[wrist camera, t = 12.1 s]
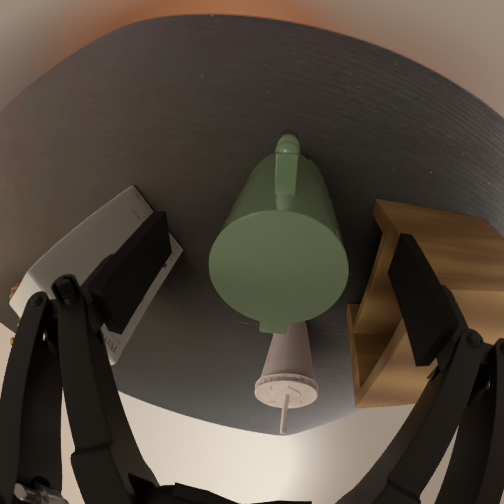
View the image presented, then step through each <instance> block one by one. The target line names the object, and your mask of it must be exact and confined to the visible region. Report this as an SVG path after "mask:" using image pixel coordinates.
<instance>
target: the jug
mask: <svg viewBox="0 0 504 504" xmlns="http://www.w3.org/2000/svg"><path fill="white" fill-rule="evenodd" d="M209 273H210V277H211V280H212V283H213V285H214V287H215V289H216V291H217V292H218V294H219V295H220V296H221V298H222V299H223V300H224V301H225V302H226V303H227V304H228V305H229V306H230V307H232V308H233V309H235V310H236V311H237V312H239V313H241V314H243V315H245V316H247V317H249V318H252V319H254V320H257V321H260V326H259V331H260V332H265V333H275V334H286V331H287V324H292V323H298V322H303V321H306V320H309V319H312V318H314V317H316V316H318V315H320V314H322V313H323V312H325V311H326V310H328V309H329V308H330V307H331V306H332V305H333V304H334V303H335V302H336V301H337V300H338V299H339V297H340V296H341V295H342V293H343V291H344V289H345V287H346V284H347V281H348V276H349V263H348V257H347V253H346V249H345V246H344V242H343V238H342V235H341V231H340V227H339V224H338V220H337V217H336V214H335V210H334V207H333V204H332V201H331V197H330V194H329V191H328V188H327V185H326V182H325V179H324V176H323V174H322V172H321V170H320V169H319V168H318V166H317V165H316V164H315V163H314V162H313V161H311V160H310V159H309V158H307V157H305V156H303V155H301V154H300V148H299V139H298V134H297V133H296V132H295V131H294V130H292V129H286V130H284V131H283V132H282V133H281V135H280V138H279V141H278V144H277V147H276V150H275V153H274V154H271V155H269V156H267V157H265V158H263V159H262V160H261V161H259V162H258V163H257V164H256V165H255V167H254V168H253V170H252V171H251V173H250V175H249V177H248V179H247V181H246V182H245V184H244V186H243V188H242V190H241V192H240V194H239V195H238V197H237V199H236V201H235V203H234V205H233V207H232V209H231V211H230V212H229V214H228V216H227V218H226V220H225V222H224V224H223V226H222V228H221V230H220V232H219V234H218V236H217V238H216V239H215V241H214V243H213V245H212V248H211V251H210V255H209Z"/></svg>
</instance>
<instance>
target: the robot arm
mask: <svg viewBox="0 0 504 504" xmlns="http://www.w3.org/2000/svg"><path fill="white" fill-rule="evenodd" d="M171 254H172V248H171V243H170V237H169V231H168V225H167V218H166V212H155V211H154V212H153V213H152V214H151V215H150V216H149V217H148V218H147V219H146V220H145V221H144V222H143V223H142V224H141V225H140V226H139V227H138V228H137V229H136V231H135V232H134V233H133V234H132V235H131V236H130V237H129V238H128V239H127V240H126V241H125V243H124V244H123V245H122V246H121V247H120V248H119V249H118V250H117V251H116V253H115V254H110V255H109V256H107V257H106V258H104V259H103V260H102V261H101V262H100V263H99V265H98V267H96V268H95V269H94V270H93V272H92V273H91V274H90V275H89V276H88V278H87V279H86V280H85V281H84V282H83V284H82V285H81V286H79V284H78V281H77V279H76V277H75V276H74V275H73V274H65V275H62V276H60V277H58V278H57V279H56V280H55V281H54V282H53V283H52V285H51V290H52V292H53V294H54V296H55V298H56V299H49V297H48V295H47V293H46V292H44V291H39V292H36V293H35V294H33V295H32V296H31V297H30V298H29V299H28V301H27V303H26V306H25V308H24V311H23V314H22V317H21V319H20V322H19V325H18V328H17V331H16V335H15V338H14V341H13V345H12V348H11V352H10V356H9V359H8V363H7V367H6V372H5V376H4V381H3V386H2V392H1V398H0V504H69V503H68V501H67V500H66V499H64V498H63V497H62V495H61V491H62V461H61V404H62V389H63V391H64V398H65V403H66V409H67V415H68V419H69V424H70V429H71V433H72V437H73V441H74V445H75V452H74V453H72V454H71V465H72V468H73V471H74V474H75V478H76V481H77V483H78V486H79V489H80V492H81V495H82V497H83V500H84V502H85V504H239V503H236V502H234V501H231V500H229V499H226V498H224V497H221V496H219V495H217V494H214V493H212V492H210V491H207V490H202V489H198V488H194V487H190V486H186V485H183V484H179V483H175V485H163V486H160V485H159V483H158V481H157V479H156V477H155V476H154V474H153V472H152V471H151V469H150V468H149V467H148V465H147V464H146V463H145V461H144V460H143V458H142V455H141V453H140V451H139V448H138V446H137V444H136V441H135V439H134V436H133V434H132V431H131V429H130V426H129V423H128V421H127V418H126V415H125V412H124V409H123V406H122V403H121V400H120V397H119V394H118V390H117V387H116V384H115V380H114V377H113V373H112V369H111V365H110V361H109V357H108V353H107V349H106V345H105V340H104V335H103V332H102V330H101V327H102V325H103V324H104V323H105V325H106V327H107V329H108V331H110V332H113V333H117V334H120V335H122V333H123V332H124V330H125V328H126V326H127V325H128V323H129V321H130V319H131V318H132V316H133V314H134V313H135V311H136V309H137V308H138V306H139V304H140V303H141V301H142V299H143V298H144V296H145V294H146V293H147V291H148V290H149V288H150V286H151V285H152V283H153V281H154V280H155V278H156V277H157V275H158V274H159V272H160V270H161V269H162V267H163V266H164V264H165V263H166V261H167V260H168V258H169V257H170V255H171ZM387 273H388V276H389V279H390V282H391V284H392V287H393V290H394V293H395V296H396V299H397V302H398V305H399V308H400V311H401V314H402V317H403V321H404V324H405V327H406V331H407V334H408V338H409V341H410V345H411V349H412V353H413V357H414V361H415V365H416V367H421V366H430V365H431V363H432V362H433V361H434V360H435V358H436V359H437V363H438V365H437V366H436V367H435V369H434V370H433V371H432V372H431V373H430V374H429V376H428V377H427V379H429V378H430V379H429V381H428V382H427V384H426V386H425V388H424V390H423V392H422V394H421V396H420V397H419V399H418V401H417V403H416V404H415V406H414V408H413V409H412V411H411V413H410V414H409V416H408V418H407V419H406V421H405V422H404V424H403V425H402V427H401V428H400V430H399V432H398V433H397V434H396V436H395V437H394V439H393V440H392V442H391V443H390V444H389V446H388V447H387V449H386V450H385V451H384V453H383V454H382V456H381V457H380V458H379V459H378V460H377V462H376V463H375V464H374V465H373V467H372V468H371V469H370V471H369V472H368V473H367V474H366V475H365V476H364V477H363V479H362V480H361V481H360V482H359V483H358V484H357V485H356V486H355V487H354V488H353V489H352V490H351V491H350V492H348V493H347V494H345V495H344V496H343V497H342V498H341V499H340V500H338V501H337V502H336V503H335V504H421V501H420V494H421V493H422V491H423V490H424V488H425V486H426V485H427V483H428V482H429V480H430V479H431V477H432V475H433V474H434V472H435V470H436V468H437V467H438V465H439V463H440V461H441V460H442V458H443V456H444V454H445V452H446V450H447V448H448V446H449V444H450V442H451V440H452V438H453V436H454V434H455V431H456V429H457V427H458V425H459V427H458V432H457V436H456V440H455V444H454V448H453V452H452V455H451V459H450V462H449V465H448V468H447V472H446V475H445V477H444V480H443V483H442V486H441V489H440V491H439V494H438V496H437V499H436V501H435V503H434V504H499V503H500V500H501V497H502V493H503V490H504V338H499V339H498V340H497V341H496V342H495V344H494V345H492V344H489V343H485V342H484V341H483V338H482V336H481V335H480V334H479V333H478V332H477V331H476V330H474V329H470V328H469V327H468V325H467V322H466V320H465V318H464V316H463V314H462V312H461V310H460V308H459V306H458V303H457V301H455V300H456V299H455V297H454V296H453V294H452V292H451V291H450V290H449V289H448V288H447V286H446V285H441V284H440V282H439V280H438V278H437V276H436V274H435V272H434V271H433V269H432V267H431V265H430V263H429V262H428V260H427V258H426V256H425V255H424V253H423V251H422V250H421V248H420V246H419V245H418V243H417V241H416V240H415V238H414V237H413V235H412V234H405V233H400V237H399V240H398V243H397V246H396V249H395V252H394V255H393V258H392V261H391V264H390V267H389V270H388V272H387ZM44 335H45V338H44V339H43V336H44ZM489 384H490V386H489ZM253 504H312V501H305V502H304V501H271V502H263V503H253Z"/></svg>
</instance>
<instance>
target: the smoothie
mask: <svg viewBox="0 0 504 504" xmlns="http://www.w3.org/2000/svg"><path fill="white" fill-rule="evenodd" d="M255 396H256V398H257V399H258V400H260V401H261V402H263V403H265V404H267V405H270V406H273V407H278V408H282V415H281V424H280V434H286V425H287V415H288V408H298V407H303V406H306V405H309V404H311V403H312V402H314V401H315V400H316V399H317V397H318V385H317V383H316V382H315V380H314V372H313V365H312V358H311V352H310V345H309V338H308V332H307V326H306V323H305V321H303V322H298V323H292V324H287V331H286V334H275V333H274V334H273V338H272V341H271V345H270V348H269V351H268V355H267V358H266V362H265V365H264V368H263V371H262V375H261V378H260V379H259V380H258V381H257V382H256V385H255Z"/></svg>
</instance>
